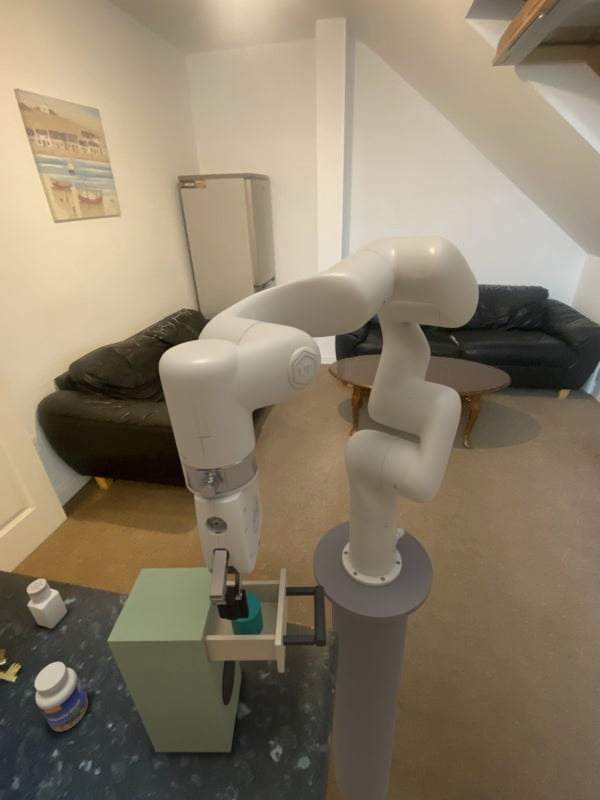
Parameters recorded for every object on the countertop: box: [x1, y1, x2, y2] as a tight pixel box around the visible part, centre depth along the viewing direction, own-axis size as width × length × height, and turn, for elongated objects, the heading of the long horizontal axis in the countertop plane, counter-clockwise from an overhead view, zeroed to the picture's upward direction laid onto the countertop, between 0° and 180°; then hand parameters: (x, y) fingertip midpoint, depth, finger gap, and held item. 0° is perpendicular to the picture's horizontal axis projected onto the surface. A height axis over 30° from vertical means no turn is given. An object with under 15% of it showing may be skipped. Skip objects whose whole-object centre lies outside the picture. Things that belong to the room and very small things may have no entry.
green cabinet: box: [106, 566, 242, 753], centre depth 52 cm, size 11×10×26 cm
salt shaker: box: [26, 578, 68, 629], centre depth 71 cm, size 4×4×10 cm
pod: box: [231, 593, 263, 635], centre depth 48 cm, size 4×4×4 cm
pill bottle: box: [34, 661, 89, 732], centre depth 57 cm, size 5×5×10 cm
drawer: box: [203, 567, 327, 674], centre depth 48 cm, size 16×10×5 cm, turn 89°
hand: (242, 577), depth 45 cm, fingers open, 9 cm apart
